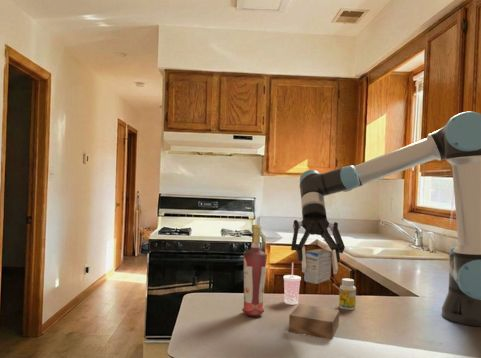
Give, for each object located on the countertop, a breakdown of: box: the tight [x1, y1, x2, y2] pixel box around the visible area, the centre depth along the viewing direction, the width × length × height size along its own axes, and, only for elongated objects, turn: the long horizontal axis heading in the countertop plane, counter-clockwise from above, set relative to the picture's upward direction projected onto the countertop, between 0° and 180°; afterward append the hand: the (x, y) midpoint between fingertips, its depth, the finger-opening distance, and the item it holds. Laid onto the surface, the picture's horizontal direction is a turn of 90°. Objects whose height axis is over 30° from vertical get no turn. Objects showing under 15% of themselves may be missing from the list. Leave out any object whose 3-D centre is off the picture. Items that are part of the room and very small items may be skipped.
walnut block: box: [288, 303, 340, 340], centre depth 117 cm, size 12×12×5 cm
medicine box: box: [303, 248, 332, 285], centre depth 118 cm, size 8×4×9 cm, turn 140°
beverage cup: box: [283, 262, 302, 306], centre depth 142 cm, size 6×6×14 cm
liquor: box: [241, 224, 268, 318], centre depth 127 cm, size 7×7×28 cm
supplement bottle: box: [338, 277, 357, 311], centre depth 139 cm, size 5×5×10 cm
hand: (320, 270), depth 114 cm, fingers closed on medicine box, 8 cm apart
